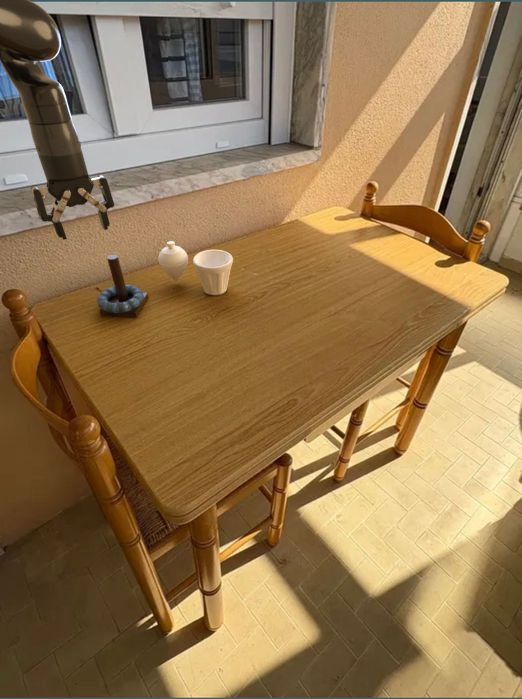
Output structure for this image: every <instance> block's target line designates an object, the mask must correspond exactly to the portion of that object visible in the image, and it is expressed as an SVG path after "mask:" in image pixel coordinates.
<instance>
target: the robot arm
mask: <svg viewBox="0 0 522 699" xmlns="http://www.w3.org/2000/svg"><path fill="white" fill-rule="evenodd" d="M60 33H61V32H60V30H59V27H58V26H57V24H56V22H55V20H54V19H53V17H52V16H51V15H50V14H49V13H48V12H47V10H45V9H44V8H43V7H42V6H41V5H39V4H37V3H36V2H34V1H31V0H0V63H1V66H2V67H3V69H4V71H5V72H6V74H7V76H8V77H9V80H10V81H11V83H12V84H13V86H14V88H15V89H16V91H17V92H18V94H19V97H20V100H21V104H22V107H23V110H24V113H25V117H26V119H27V121H28V125H29V129H30V134H31V137H32V141H33V145H34V147H35V150H36V154H37V156H38V159H39V161H40V164H41V168H42V170H43V173H44V174H43V175H44V176H45V180H46V186H40V187H37V186H35V185H33V186H31V187H30V192H31V194H32V198H33V201H34V205H35V208H36V211H37V215H38V216H39V218H40V219H41V221H42V222H45V223H46V222H50V223H52V226H53V228H54V232H55V234H56V235H57V236H58V237H59V238H61V239H62V240H63V241H64V240H68V239H67V235H66V232H65V229H64V226H63V222H62V221H61V217H62V214H63V213H64V212H65V209H66V207H68V208H73V207H75V206H84V205H86V203H87V202H89V204H91V205H93V206H94V207H95V208H97V215H98V219H99V222H100V226H101V228H102V229H103V230H104V231H106V230H109V227H110V226H111V225H110V220H109V216H108V210H109V209H111V208H114V207H115V201H114V199H113V195H112V192H111V189H110V188H111V187H110V185H109V182H108V180H107V178H106V177H105V176H103V175H102V174H98V175H97V176H96V177H94V178H91V177H90V175H89V172H88V168H87V164H86V161H85V157H84V153H83V150H82V144H81V141H80V139H79V135H78V132H77V130H76V127H75V125H74V121H73V119H72V115H71V111H70V108H69V104H68V100H67V96H66V93H65V91H64V87H63V86H62V84H60V82H58V81H57V80H55V79H53V78H50V77H48V76H47V75H46V74H45V72H44V71H43V69H42V67H41V65H40V64H39V63H40V62H49V61H52V60H53V59H55V58H56V57H57V56H58V55H59V53H60V50H61V46H62V38H61V34H60ZM95 186H96V187H97V189H98V190H100V191H101V194H102V197H103V201H102V202H100V201H99V200H98V199H97V198H95V197H94V195H92V191H93V189H94V187H95ZM48 194H49V195H50V196H52V197H53V198H54V199H53V202H52V207H51V210H50V212H47V210H46V206H45V202H44V201H45V200H46V199H47V195H48Z"/></svg>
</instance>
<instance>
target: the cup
mask: <svg viewBox="0 0 522 699" xmlns="http://www.w3.org/2000/svg"><path fill="white" fill-rule="evenodd" d="M192 262H193V266H194V269H195V270H196V273H197V276H198V279H199V281H200V283H201V284H200V285H201V287H202V289H203V292H204V293H205V294H206V295H208V296H211V297H213V296H214V297H215V296H216V297H218V296H221V295H224V294H225V293H226V292H227V290H228V285H229V280H230V274H231V269H232V266H233V263H234V258H233V256H232V254H231V253H230V252H228V251H225V250H222V249H207V250H206V249H205V250H203V251H200V252H197V253H196V254H195V255H194V257H193V259H192Z"/></svg>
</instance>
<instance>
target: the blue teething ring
mask: <svg viewBox="0 0 522 699" xmlns="http://www.w3.org/2000/svg"><path fill="white" fill-rule="evenodd" d="M125 286H126V290H127V294H131V295H133V297H132V298H131V299H130V300H128V301H126V302H121V303H111V302H109V301H108V300H109V299H110V298H111V297H113V296H115V295H117V292H116V289H115V285H111V286H109V287H107V288H105V289H103V290H102V291H100V293H99V295H97V297H96V301H97V306H98V308H99V309H102V310H104V311H106V312H108V313H123V312H128V311H131V310H133V309H135V308H136V307H138V306H139V305H140V304H141V302H142V301H143V299H144V295H143V289H141V288H140V287H139V286H136V285H134V284H126V283H125Z"/></svg>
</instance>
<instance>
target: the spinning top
mask: <svg viewBox="0 0 522 699" xmlns="http://www.w3.org/2000/svg"><path fill="white" fill-rule="evenodd" d="M175 244H176V243H175V241H173V240H169V241H167V242H166V246H165V247H162V249H161V251H160V252H159V253H158V257H157V261H158V264H159V266H160V268H161V270H162V271H163V272H164V273H165V274H166V275H167V276H168V277H169V278H171V279H172V280H173V281H175V283H176V285H178V281H179V280H180V279H181V278H182V276H183V274H184V273H185V272H186V270H187V267H188V265H189V264H188V263H189V257H188V253H187V252H186V251H185V249H183V248H182V247H181V246H179V245H175Z"/></svg>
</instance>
